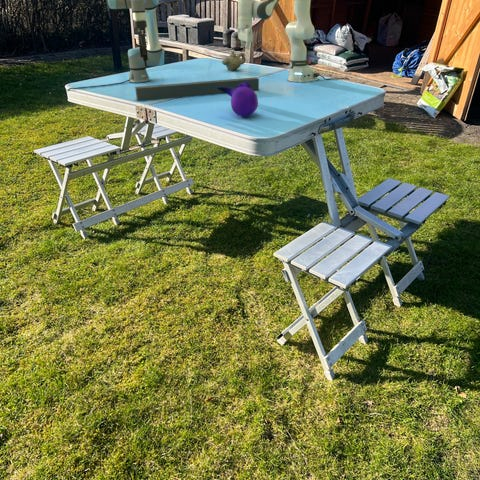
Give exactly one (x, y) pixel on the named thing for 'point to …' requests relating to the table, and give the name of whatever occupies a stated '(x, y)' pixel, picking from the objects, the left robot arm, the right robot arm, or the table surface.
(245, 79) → the bar
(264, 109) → the table surface
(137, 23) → the left robot arm
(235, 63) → the teapot
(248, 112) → the toy
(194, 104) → the table surface
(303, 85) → the table surface
